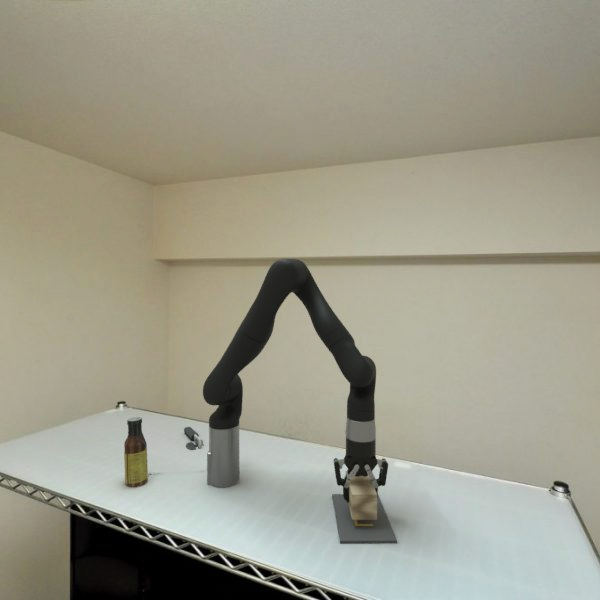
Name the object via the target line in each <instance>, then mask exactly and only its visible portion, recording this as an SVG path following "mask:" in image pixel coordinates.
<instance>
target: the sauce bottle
mask: <svg viewBox="0 0 600 600" xmlns="http://www.w3.org/2000/svg"><path fill="white" fill-rule="evenodd" d="M126 422H127V423H126V424H127V437H126V439H125V441H124V452H123V453H124V482H125V486H126V487H128V488H139V487H142V486H144V485H146V484H147V482H148V477H149V475H148V474H149V472H148V446H147V441H146V439H145V436H144V433H143V430H142V427H143V426H142V423H143V418H142V417H139V416H136V417H135V416H134V417H131V418H128V419H127V421H126Z"/></svg>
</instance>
